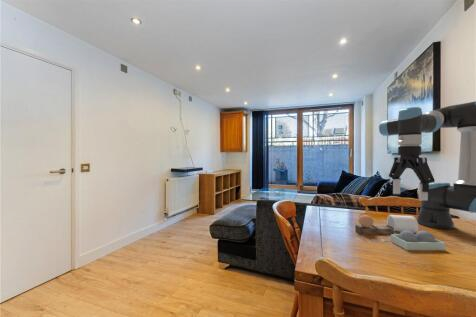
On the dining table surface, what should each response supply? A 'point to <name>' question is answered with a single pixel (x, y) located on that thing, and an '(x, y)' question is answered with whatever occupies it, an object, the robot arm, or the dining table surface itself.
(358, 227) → the rail
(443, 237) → the dining table surface
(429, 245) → the trough
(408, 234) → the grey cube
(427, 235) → the grey ball
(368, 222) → the ball terracotta
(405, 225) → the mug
